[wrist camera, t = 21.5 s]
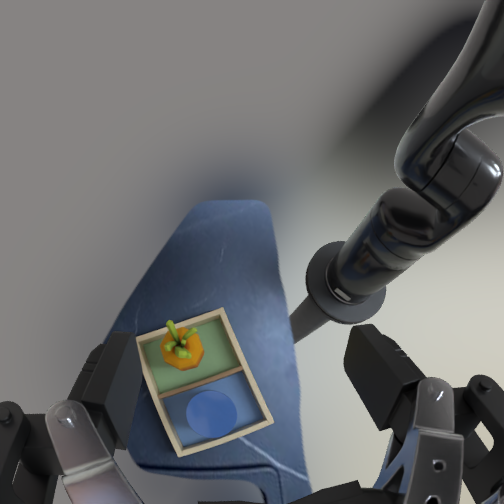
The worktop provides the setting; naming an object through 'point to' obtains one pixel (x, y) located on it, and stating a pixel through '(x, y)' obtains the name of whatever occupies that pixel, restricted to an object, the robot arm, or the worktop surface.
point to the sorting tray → (202, 382)
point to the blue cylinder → (211, 414)
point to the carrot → (181, 347)
